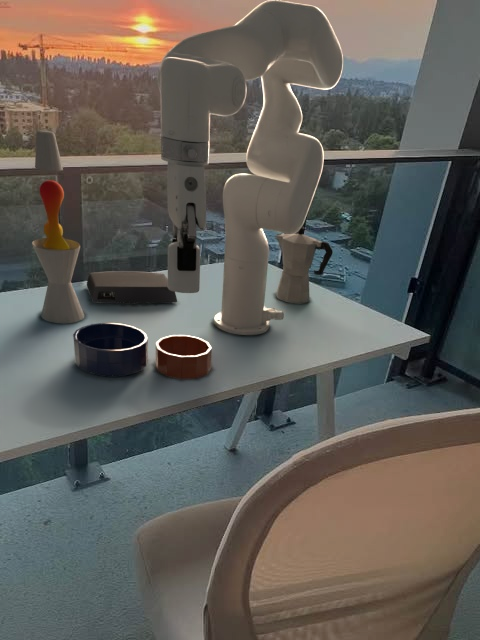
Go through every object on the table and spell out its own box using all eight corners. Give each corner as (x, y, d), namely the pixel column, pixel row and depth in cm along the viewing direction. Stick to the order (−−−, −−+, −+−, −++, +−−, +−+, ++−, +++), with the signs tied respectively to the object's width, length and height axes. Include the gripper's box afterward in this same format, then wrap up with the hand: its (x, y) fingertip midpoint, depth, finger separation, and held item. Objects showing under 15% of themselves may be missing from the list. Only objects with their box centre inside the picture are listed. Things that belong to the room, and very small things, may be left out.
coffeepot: (263, 296, 160) (269, 224, 150) (275, 287, 168) (282, 218, 158) (319, 310, 158) (329, 237, 147) (329, 300, 165) (340, 230, 155)
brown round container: (203, 355, 126) (204, 334, 123) (215, 378, 118) (216, 356, 116) (152, 356, 122) (152, 335, 120) (161, 380, 114) (161, 357, 112)
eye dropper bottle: (175, 283, 114) (176, 215, 107) (203, 290, 113) (205, 221, 106) (163, 289, 111) (163, 219, 104) (191, 297, 110) (193, 226, 103)
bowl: (142, 348, 124) (141, 322, 121) (152, 377, 115) (152, 350, 112) (73, 350, 120) (71, 323, 117) (78, 380, 110) (75, 351, 107)
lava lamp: (90, 321, 132) (78, 137, 112) (46, 325, 127) (25, 133, 108) (78, 306, 138) (64, 129, 118) (35, 309, 133) (13, 125, 114)
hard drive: (86, 286, 149) (85, 269, 147) (166, 286, 157) (166, 270, 154) (92, 305, 140) (91, 287, 137) (178, 305, 147) (178, 288, 145)
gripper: (220, 163, 94) (216, 282, 105) (197, 144, 106) (194, 252, 117) (171, 159, 91) (171, 282, 102) (152, 140, 104) (154, 251, 114)
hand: (183, 265), depth 109 cm, fingers closed on eye dropper bottle, 3 cm apart
